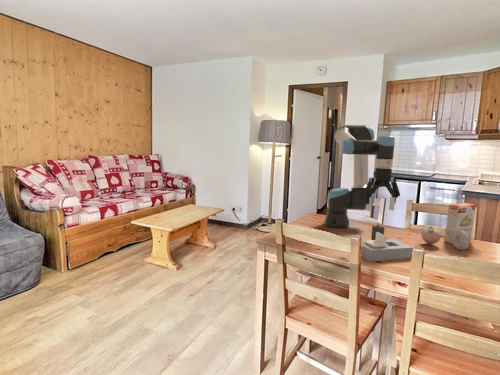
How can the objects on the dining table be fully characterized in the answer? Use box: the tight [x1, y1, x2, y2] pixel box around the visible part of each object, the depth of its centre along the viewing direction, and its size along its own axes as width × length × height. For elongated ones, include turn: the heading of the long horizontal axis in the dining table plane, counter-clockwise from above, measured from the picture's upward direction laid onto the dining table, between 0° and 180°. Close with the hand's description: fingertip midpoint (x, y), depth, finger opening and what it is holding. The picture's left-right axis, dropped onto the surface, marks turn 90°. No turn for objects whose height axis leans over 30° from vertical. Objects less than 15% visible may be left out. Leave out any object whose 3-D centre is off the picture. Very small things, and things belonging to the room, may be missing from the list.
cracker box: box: [443, 202, 477, 246], centre depth 159 cm, size 14×6×21 cm, turn 114°
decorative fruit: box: [421, 225, 441, 246], centre depth 154 cm, size 9×8×10 cm
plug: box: [370, 222, 385, 240], centre depth 151 cm, size 4×4×12 cm
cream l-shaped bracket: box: [363, 232, 388, 247], centre depth 137 cm, size 7×7×5 cm
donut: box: [453, 230, 470, 251], centre depth 148 cm, size 10×4×10 cm, turn 174°
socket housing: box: [361, 238, 414, 262], centre depth 138 cm, size 12×22×5 cm, turn 104°
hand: (379, 210), depth 149 cm, fingers open, 13 cm apart
